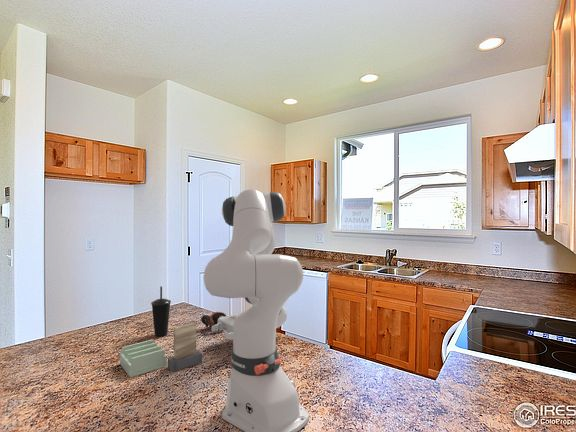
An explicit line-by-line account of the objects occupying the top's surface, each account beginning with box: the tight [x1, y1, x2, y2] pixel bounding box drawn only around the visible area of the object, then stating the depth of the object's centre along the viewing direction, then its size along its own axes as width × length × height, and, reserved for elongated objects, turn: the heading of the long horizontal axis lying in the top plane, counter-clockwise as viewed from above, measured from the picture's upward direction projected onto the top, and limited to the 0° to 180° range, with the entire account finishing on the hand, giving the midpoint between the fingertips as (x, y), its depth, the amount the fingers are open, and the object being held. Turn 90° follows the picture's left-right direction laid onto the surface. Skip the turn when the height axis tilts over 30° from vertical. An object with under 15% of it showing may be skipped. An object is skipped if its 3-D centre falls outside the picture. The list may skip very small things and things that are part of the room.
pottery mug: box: [200, 311, 227, 333], centre depth 136 cm, size 12×10×8 cm
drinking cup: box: [150, 285, 172, 338], centre depth 130 cm, size 8×8×20 cm
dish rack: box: [119, 338, 168, 378], centre depth 103 cm, size 12×11×6 cm
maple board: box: [173, 322, 197, 360], centre depth 104 cm, size 2×7×13 cm, turn 132°
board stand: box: [167, 348, 203, 373], centre depth 104 cm, size 4×10×3 cm, turn 132°
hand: (218, 332), depth 112 cm, fingers open, 8 cm apart
